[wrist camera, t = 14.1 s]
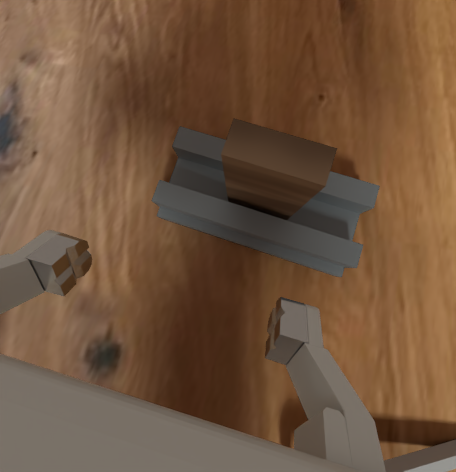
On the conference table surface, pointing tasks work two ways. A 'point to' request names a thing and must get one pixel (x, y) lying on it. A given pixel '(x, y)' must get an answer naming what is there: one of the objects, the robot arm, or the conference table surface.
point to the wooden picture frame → (273, 169)
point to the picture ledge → (260, 224)
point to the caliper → (425, 460)
